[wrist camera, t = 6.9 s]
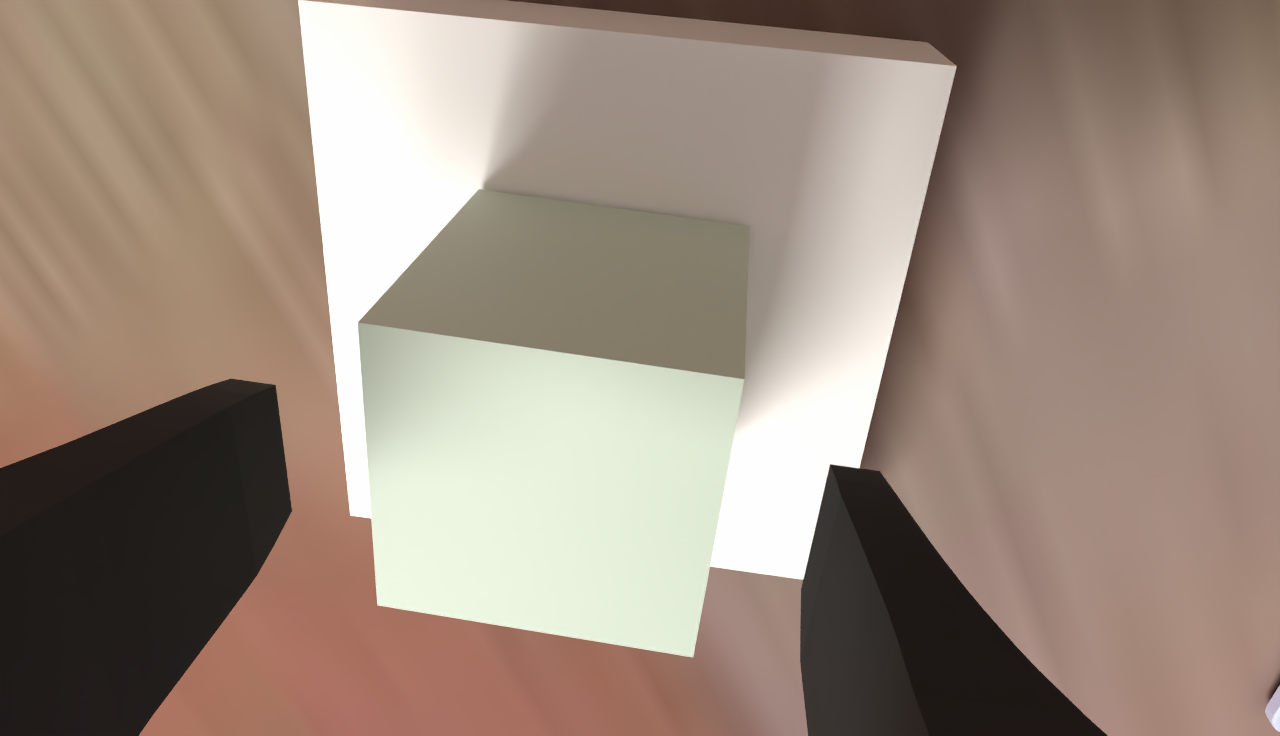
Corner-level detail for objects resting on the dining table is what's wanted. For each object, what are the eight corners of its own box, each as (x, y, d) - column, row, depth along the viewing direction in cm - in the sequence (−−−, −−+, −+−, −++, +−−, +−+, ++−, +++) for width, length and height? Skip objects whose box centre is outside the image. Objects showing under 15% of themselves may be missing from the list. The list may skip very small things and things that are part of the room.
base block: (922, 38, 15) (956, 65, 13) (822, 494, 20) (831, 583, 18) (373, -17, 16) (297, -1, 13) (401, 438, 21) (350, 514, 18)
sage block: (749, 226, 14) (744, 379, 10) (711, 451, 16) (693, 657, 12) (478, 188, 14) (357, 323, 10) (477, 416, 17) (377, 605, 12)
